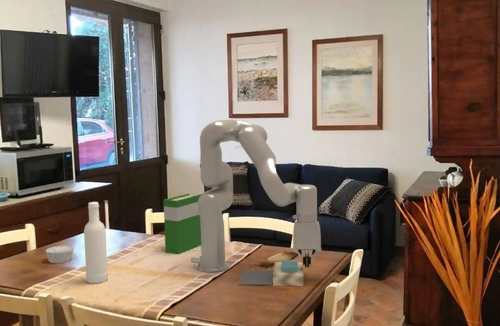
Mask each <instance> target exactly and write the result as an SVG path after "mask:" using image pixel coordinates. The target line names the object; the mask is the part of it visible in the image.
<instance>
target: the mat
mask: <svg viewBox="0 0 500 326" xmlns="http://www.w3.org/2000/svg"><path fill="white" fill-rule="evenodd" d="M250 285H268V287H269V286H270V287H271V286H273V270H257V269H255V270H253V269H251V270H250V269H246V270H245V269H243V270H242V273H241V276H240V279H239V282H238V286H250Z"/></svg>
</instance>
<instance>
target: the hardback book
mask: <svg viewBox="0 0 500 326" xmlns="http://www.w3.org/2000/svg"><path fill="white" fill-rule="evenodd" d="M201 195H202V194H197V195H191V194H190V193H185V194H182V195H178V196H174V197H170V198H165V199H163V217H164V220H163V221H164V248H165V251H164V252H165V253H168V254H173V255H181V254H183V253H186V252H189V251H190V250H193V249H196V248H198V247H201V227H200V215H199V210H198V200H199V197H200V196H201Z"/></svg>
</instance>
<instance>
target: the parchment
mask: <svg viewBox="0 0 500 326" xmlns="http://www.w3.org/2000/svg"><path fill="white" fill-rule="evenodd" d="M298 255H299V253H298V252H296V251H289V252H288V251H285V250H283V252H279V253H276V254H274V255H272V256H269V257H268V258H267V260H268V261H267V262H268V263H265V261H263V262H261V263H259V264H256V263H255V264H254V265H255V266H258V267H260V268H265V267H266V269H269V268H270V266H271V267H274V263H275V262H282V260H293V258H294V257H296V256H298ZM269 261H270V262H269Z"/></svg>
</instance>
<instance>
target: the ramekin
mask: <svg viewBox="0 0 500 326" xmlns="http://www.w3.org/2000/svg"><path fill="white" fill-rule="evenodd" d="M45 254H46V257H47V261H48V262H49V263H50V264H64V263H68V262H70V261H72V259H73V254H74V246H71V245H57V246H56V245H55V246H52V247H48V248H47V249H46V250H45Z"/></svg>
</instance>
